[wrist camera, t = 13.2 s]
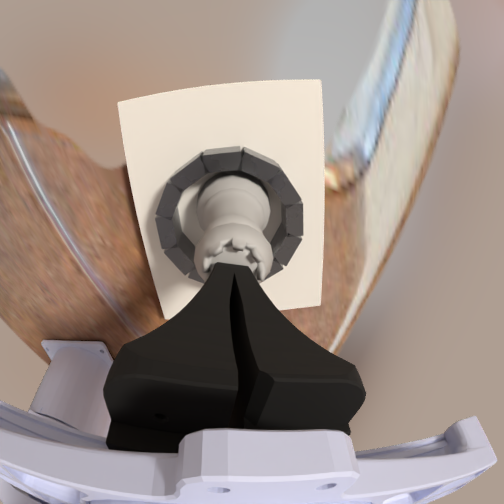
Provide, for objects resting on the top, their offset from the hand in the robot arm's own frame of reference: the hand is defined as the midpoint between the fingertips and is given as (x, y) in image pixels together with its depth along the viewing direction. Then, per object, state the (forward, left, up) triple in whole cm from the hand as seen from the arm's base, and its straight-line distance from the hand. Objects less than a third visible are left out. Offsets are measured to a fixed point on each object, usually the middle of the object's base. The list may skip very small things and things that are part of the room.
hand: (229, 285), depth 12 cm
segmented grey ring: (0, 0, -9) cm, 9 cm away
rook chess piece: (+1, 0, -8) cm, 8 cm away
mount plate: (0, 0, -9) cm, 9 cm away
